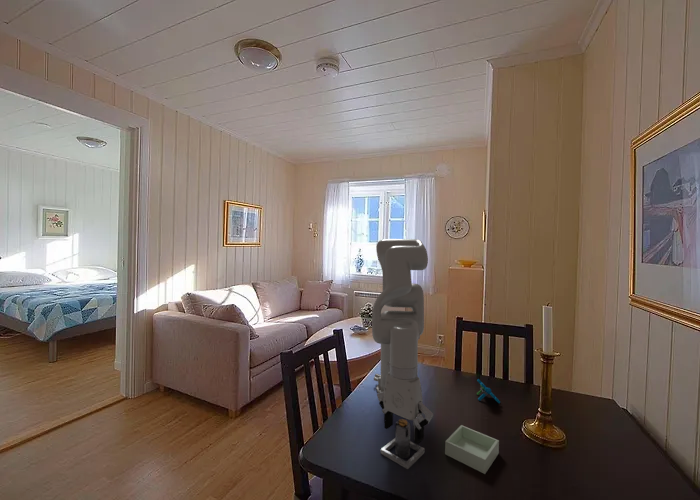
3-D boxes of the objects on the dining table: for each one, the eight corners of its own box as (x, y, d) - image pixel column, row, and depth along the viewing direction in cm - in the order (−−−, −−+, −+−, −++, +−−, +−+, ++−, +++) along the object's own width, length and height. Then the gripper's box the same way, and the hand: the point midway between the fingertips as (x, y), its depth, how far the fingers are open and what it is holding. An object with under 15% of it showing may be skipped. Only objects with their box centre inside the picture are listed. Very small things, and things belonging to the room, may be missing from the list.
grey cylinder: (392, 453, 84) (392, 421, 84) (400, 446, 87) (400, 415, 87) (404, 460, 81) (405, 427, 81) (412, 453, 84) (413, 421, 84)
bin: (445, 454, 84) (445, 441, 83) (461, 436, 91) (461, 424, 91) (485, 474, 76) (485, 459, 76) (498, 453, 84) (498, 440, 84)
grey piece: (380, 453, 84) (380, 431, 84) (407, 431, 94) (407, 411, 94) (407, 469, 78) (407, 445, 78) (433, 444, 88) (433, 422, 88)
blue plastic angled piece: (505, 404, 107) (483, 382, 109) (493, 416, 107) (471, 393, 109) (495, 394, 118) (476, 373, 120) (484, 404, 118) (465, 384, 120)
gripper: (370, 366, 87) (369, 427, 86) (425, 384, 75) (424, 454, 74) (386, 359, 92) (385, 417, 92) (439, 375, 80) (439, 441, 80)
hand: (403, 433), depth 83 cm, fingers open, 9 cm apart
